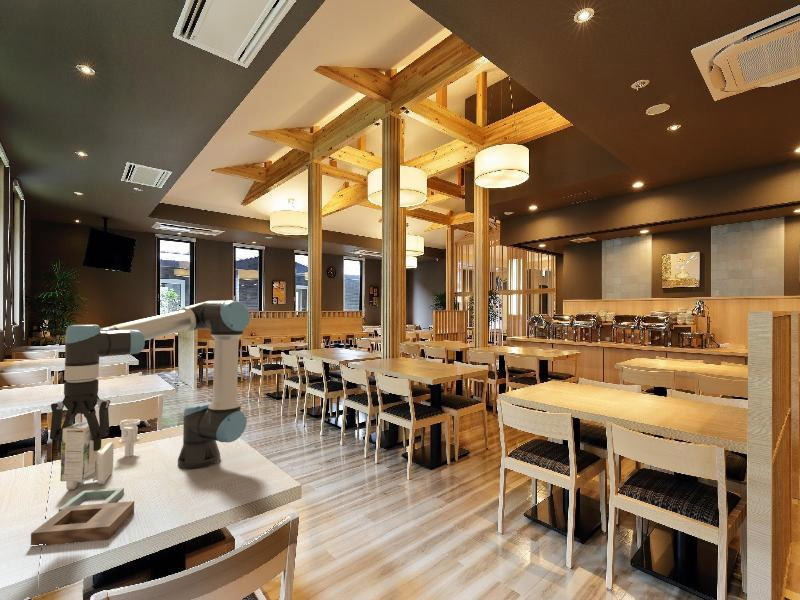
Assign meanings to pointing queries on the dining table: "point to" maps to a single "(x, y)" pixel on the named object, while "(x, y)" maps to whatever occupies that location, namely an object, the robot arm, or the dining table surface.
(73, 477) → the syrup box
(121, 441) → the white upright piece
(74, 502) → the green square frame
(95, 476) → the cable organizer
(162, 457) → the dining table surface
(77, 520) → the socket board
